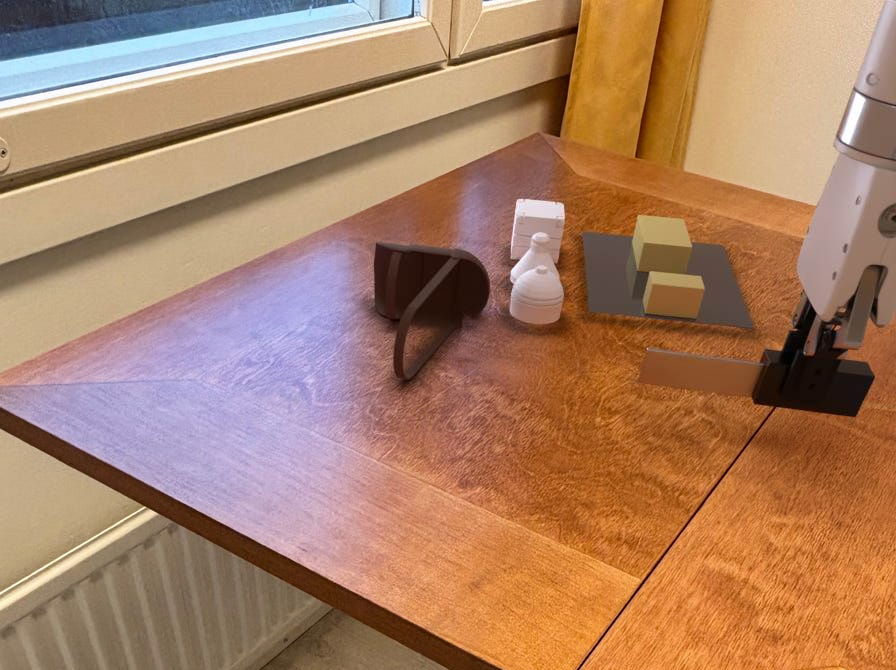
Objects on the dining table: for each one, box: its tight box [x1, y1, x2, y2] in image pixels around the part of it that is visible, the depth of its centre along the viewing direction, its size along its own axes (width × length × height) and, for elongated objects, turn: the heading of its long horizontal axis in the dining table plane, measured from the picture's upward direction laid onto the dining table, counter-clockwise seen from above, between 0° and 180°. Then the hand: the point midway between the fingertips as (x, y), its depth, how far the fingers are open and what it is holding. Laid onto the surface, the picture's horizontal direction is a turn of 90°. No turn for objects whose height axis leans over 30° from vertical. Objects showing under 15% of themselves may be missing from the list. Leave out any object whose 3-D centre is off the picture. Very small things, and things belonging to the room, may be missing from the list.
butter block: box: [632, 214, 692, 275], centre depth 95 cm, size 5×8×3 cm, turn 174°
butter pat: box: [643, 271, 705, 319], centre depth 86 cm, size 5×3×3 cm, turn 84°
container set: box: [509, 198, 566, 325], centre depth 89 cm, size 20×5×6 cm, turn 175°
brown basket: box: [373, 241, 491, 381], centre depth 78 cm, size 18×12×7 cm, turn 170°
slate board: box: [582, 230, 755, 330], centre depth 94 cm, size 16×21×1 cm
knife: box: [637, 347, 876, 418], centre depth 69 cm, size 17×2×4 cm, turn 84°
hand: (796, 389), depth 69 cm, fingers closed on knife, 2 cm apart
